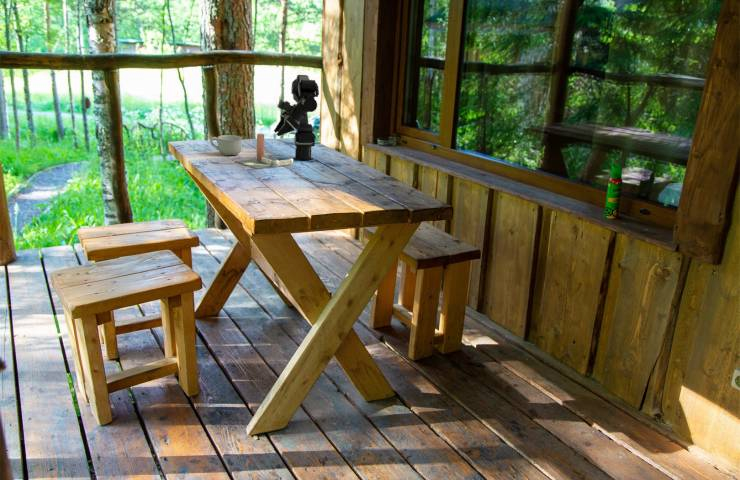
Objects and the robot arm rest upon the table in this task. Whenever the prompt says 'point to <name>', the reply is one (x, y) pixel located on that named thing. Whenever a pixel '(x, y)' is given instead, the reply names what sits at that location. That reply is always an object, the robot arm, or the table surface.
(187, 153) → the table surface
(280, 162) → the cream dumbbell
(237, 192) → the table surface
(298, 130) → the robot arm
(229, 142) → the teacup
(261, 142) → the brown cylinder with stick
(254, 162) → the board
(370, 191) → the table surface
